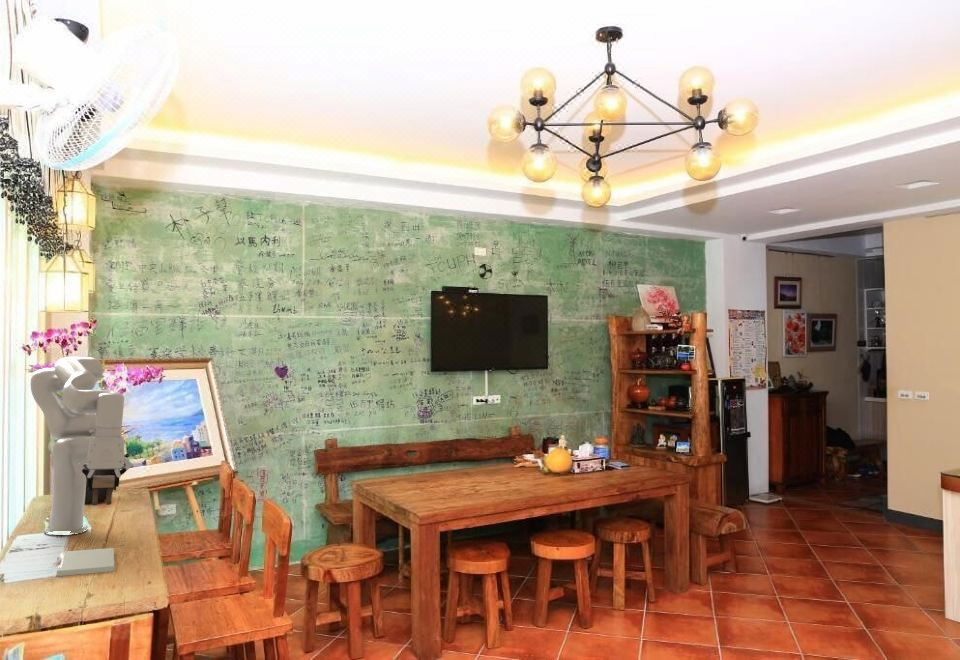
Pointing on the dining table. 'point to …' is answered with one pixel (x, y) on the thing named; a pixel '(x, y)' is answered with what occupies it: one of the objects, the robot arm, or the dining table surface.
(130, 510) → the dining table surface
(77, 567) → the board
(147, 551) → the dining table surface
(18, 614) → the dining table surface
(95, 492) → the stool
